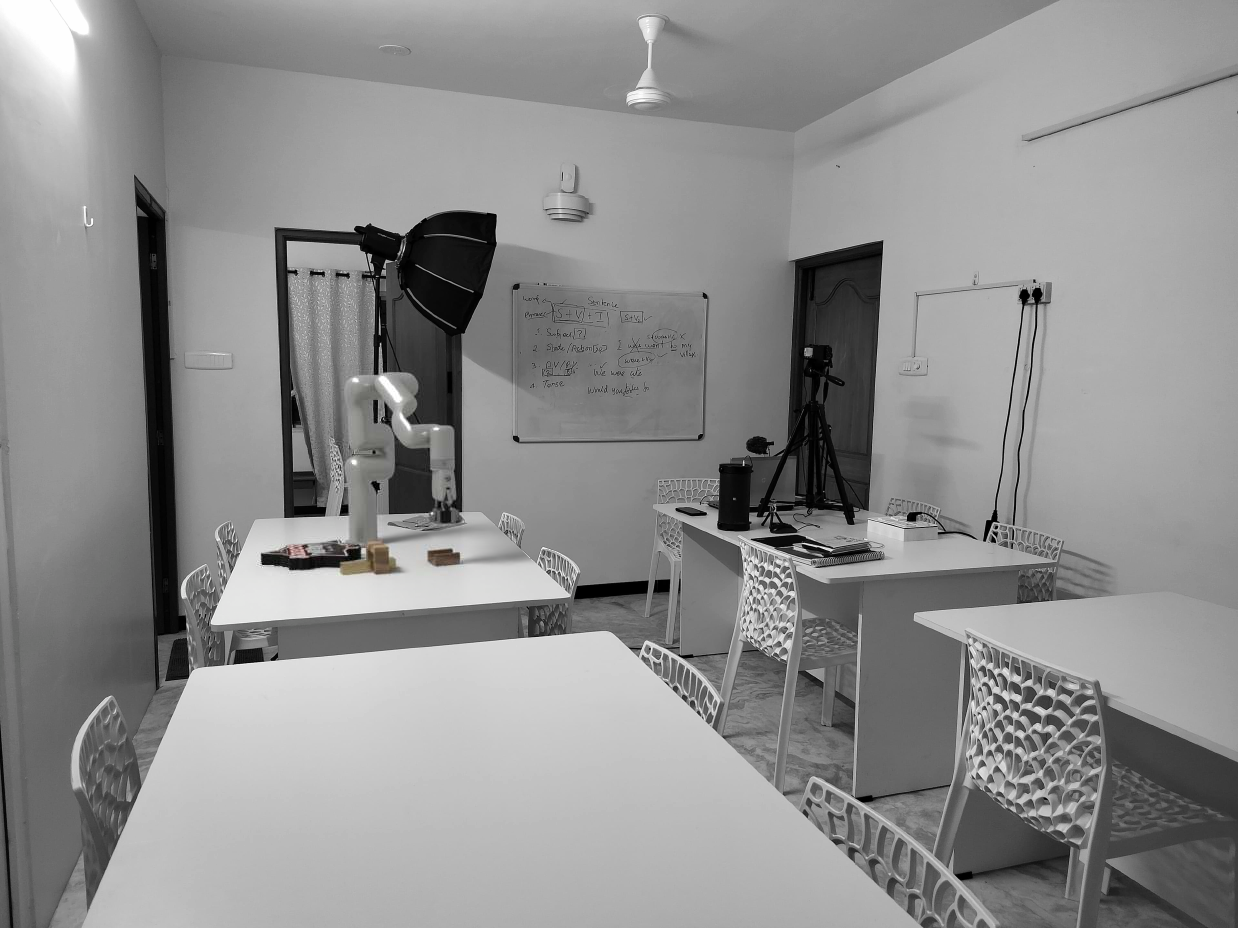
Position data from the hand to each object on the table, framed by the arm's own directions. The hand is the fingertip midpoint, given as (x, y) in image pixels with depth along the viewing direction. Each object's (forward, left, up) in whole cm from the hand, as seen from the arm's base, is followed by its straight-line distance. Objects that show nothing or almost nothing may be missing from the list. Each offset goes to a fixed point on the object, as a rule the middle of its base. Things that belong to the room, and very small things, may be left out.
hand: (443, 521), depth 258 cm
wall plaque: (-22, -36, -14) cm, 45 cm away
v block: (0, 0, -13) cm, 13 cm away
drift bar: (0, -24, -14) cm, 27 cm away
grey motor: (0, 0, 0) cm, 1 cm away
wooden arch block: (0, -21, -13) cm, 25 cm away
